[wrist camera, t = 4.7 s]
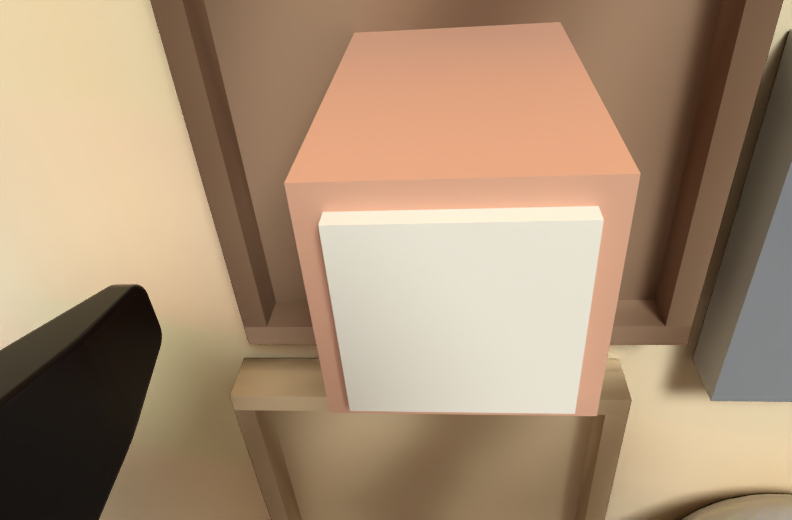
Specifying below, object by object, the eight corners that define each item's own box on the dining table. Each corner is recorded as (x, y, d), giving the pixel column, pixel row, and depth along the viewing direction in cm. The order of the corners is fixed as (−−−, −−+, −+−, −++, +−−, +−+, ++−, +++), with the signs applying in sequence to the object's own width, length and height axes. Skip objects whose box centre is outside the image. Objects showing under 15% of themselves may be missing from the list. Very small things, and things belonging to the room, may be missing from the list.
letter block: (560, 22, 12) (648, 187, 6) (545, 202, 14) (600, 432, 9) (354, 32, 12) (277, 195, 7) (373, 206, 14) (326, 428, 9)
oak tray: (619, 359, 17) (631, 399, 16) (579, 562, 24) (585, 602, 22) (244, 358, 18) (229, 396, 17) (302, 552, 25) (294, 589, 24)
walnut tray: (799, -227, 10) (848, -234, 8) (669, 305, 16) (686, 344, 15) (141, -168, 11) (102, -166, 10) (263, 307, 17) (248, 344, 16)
